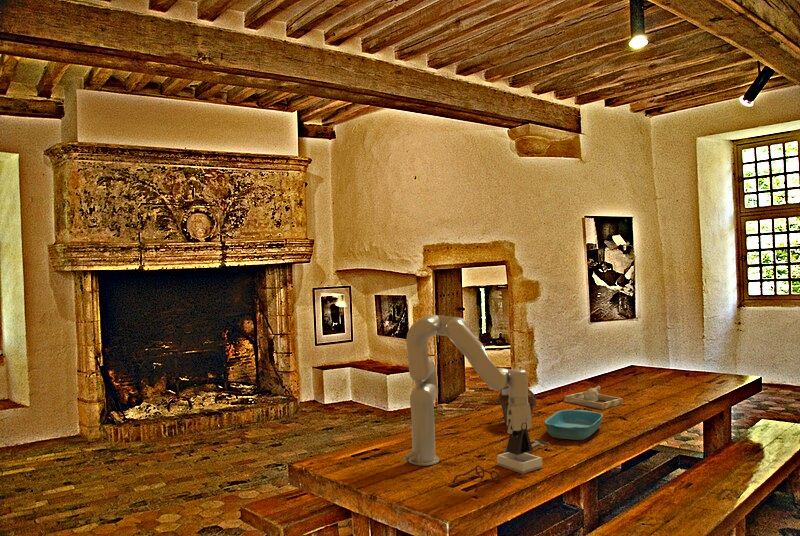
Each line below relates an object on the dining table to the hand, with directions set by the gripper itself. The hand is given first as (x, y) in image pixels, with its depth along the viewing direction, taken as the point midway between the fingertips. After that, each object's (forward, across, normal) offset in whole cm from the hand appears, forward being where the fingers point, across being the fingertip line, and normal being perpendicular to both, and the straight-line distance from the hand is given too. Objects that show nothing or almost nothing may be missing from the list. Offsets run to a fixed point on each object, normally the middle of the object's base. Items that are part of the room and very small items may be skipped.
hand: (519, 446), depth 279 cm
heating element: (+9, +18, +13) cm, 24 cm away
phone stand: (+2, 0, 0) cm, 2 cm away
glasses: (+9, -26, -3) cm, 28 cm away
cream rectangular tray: (+8, 0, 0) cm, 8 cm away
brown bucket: (+8, +47, +46) cm, 66 cm away
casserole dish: (+9, +56, +19) cm, 60 cm away
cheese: (+9, +110, +52) cm, 122 cm away
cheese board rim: (+8, +110, +50) cm, 121 cm away
